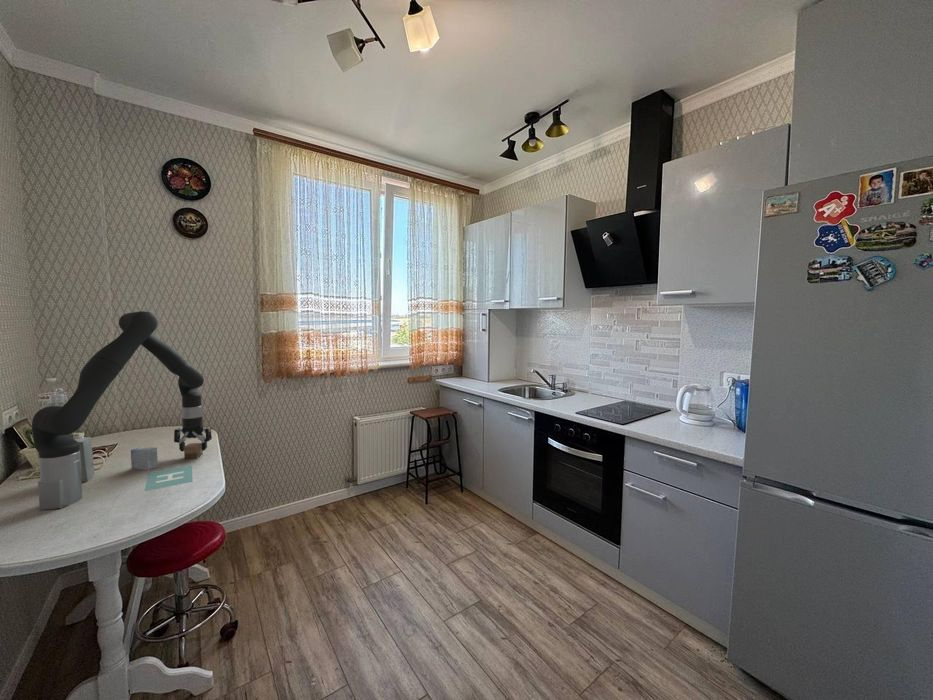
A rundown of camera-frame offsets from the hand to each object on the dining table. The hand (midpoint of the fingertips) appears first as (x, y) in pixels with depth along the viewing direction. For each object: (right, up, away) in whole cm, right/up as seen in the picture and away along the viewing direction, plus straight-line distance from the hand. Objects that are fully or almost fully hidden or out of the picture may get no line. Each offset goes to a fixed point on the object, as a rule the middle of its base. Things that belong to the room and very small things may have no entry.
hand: (193, 450), depth 166 cm
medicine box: (-11, -4, -13) cm, 17 cm away
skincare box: (-26, -5, -25) cm, 36 cm away
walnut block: (0, -3, 0) cm, 3 cm away
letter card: (+7, -5, -22) cm, 23 cm away
